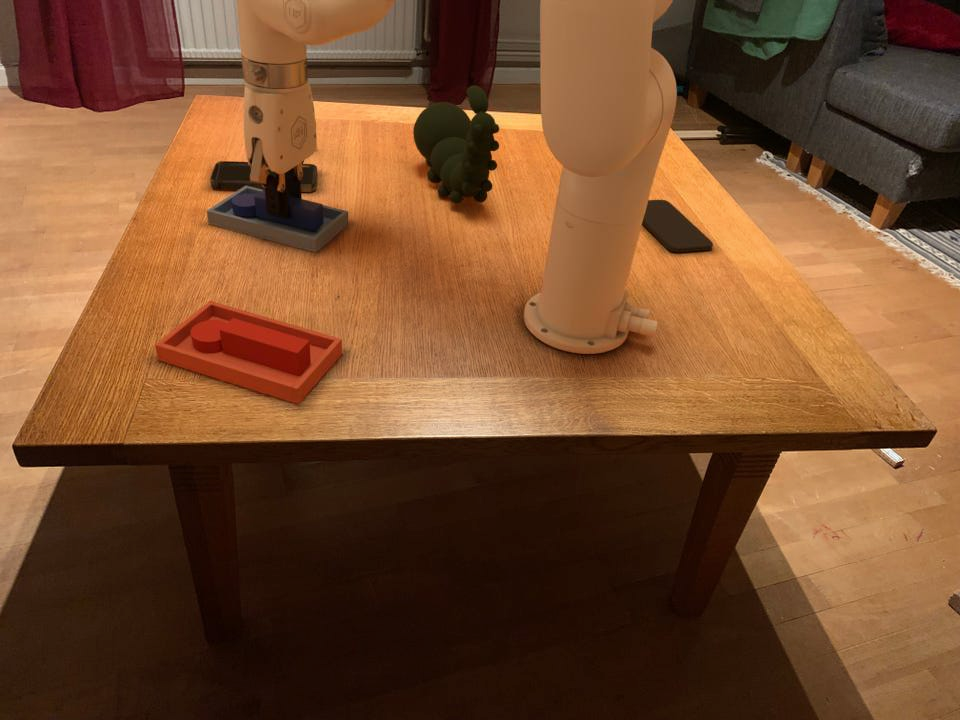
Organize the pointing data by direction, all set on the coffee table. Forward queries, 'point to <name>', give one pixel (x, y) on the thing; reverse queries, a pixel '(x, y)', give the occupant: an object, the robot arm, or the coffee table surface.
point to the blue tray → (278, 224)
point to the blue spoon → (300, 216)
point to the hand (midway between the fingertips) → (284, 210)
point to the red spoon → (253, 344)
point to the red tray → (244, 372)
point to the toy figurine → (458, 146)
